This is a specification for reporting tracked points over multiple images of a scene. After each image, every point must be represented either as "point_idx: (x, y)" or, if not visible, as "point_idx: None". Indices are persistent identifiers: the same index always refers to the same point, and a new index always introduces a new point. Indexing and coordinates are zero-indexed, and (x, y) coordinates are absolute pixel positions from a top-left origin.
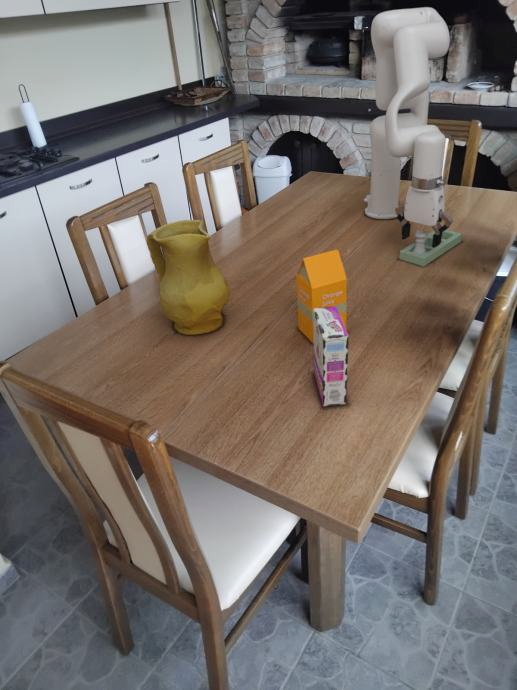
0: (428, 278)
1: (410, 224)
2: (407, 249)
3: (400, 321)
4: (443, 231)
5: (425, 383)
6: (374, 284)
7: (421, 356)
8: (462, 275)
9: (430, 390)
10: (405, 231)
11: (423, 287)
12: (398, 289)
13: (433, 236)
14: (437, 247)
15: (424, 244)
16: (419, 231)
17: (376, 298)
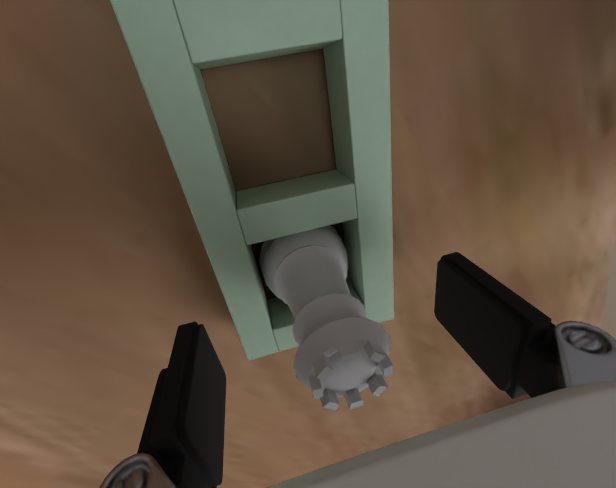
0: (438, 331)
1: (187, 431)
2: (259, 323)
3: None
4: (582, 329)
5: None
6: (332, 453)
7: None
8: (533, 227)
9: None
10: (221, 431)
11: (452, 370)
12: (401, 420)
13: (497, 382)
14: (373, 174)
15: (347, 288)
16: (317, 367)
17: None
